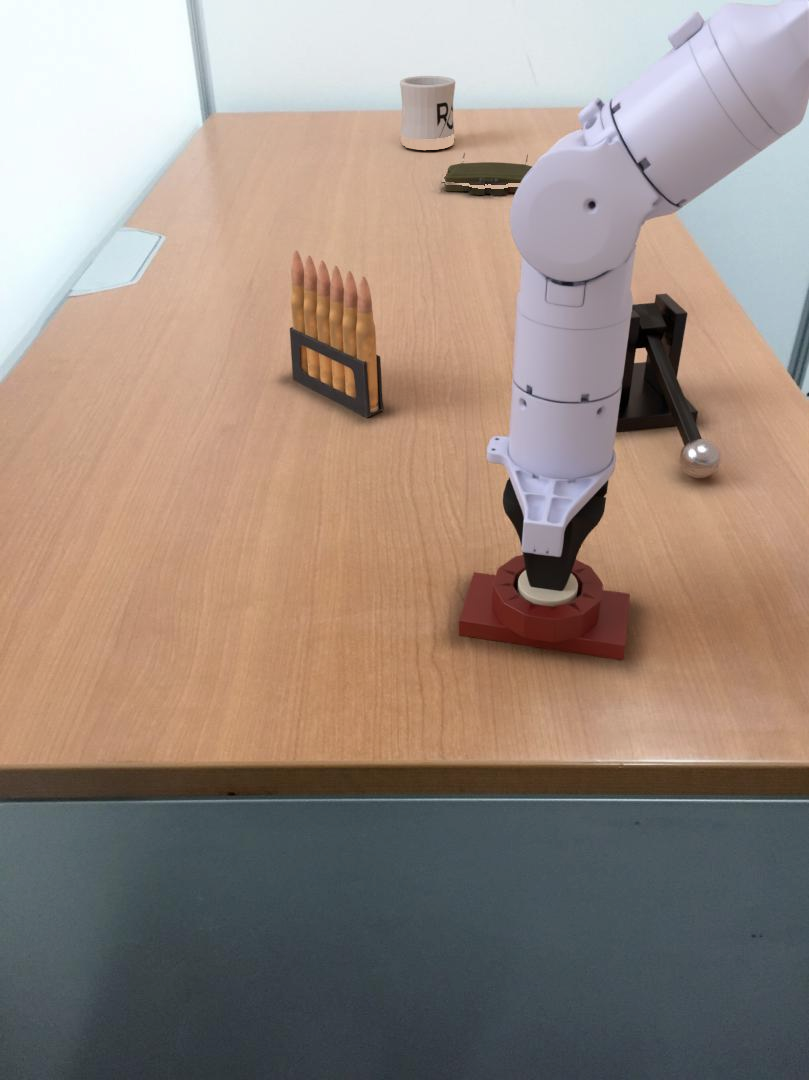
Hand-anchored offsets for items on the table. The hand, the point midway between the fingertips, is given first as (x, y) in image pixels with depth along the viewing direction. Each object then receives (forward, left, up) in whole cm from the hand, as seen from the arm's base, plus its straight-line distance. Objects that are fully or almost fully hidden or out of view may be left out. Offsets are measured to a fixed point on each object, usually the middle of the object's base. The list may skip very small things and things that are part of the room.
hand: (547, 582), depth 58 cm
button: (0, 0, -2) cm, 2 cm away
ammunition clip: (+22, -27, -3) cm, 35 cm away
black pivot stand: (-4, -31, -3) cm, 32 cm away
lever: (-6, -26, 0) cm, 27 cm away
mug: (+34, -119, -3) cm, 123 cm away
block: (0, 0, -3) cm, 3 cm away
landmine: (+20, -98, -3) cm, 100 cm away
